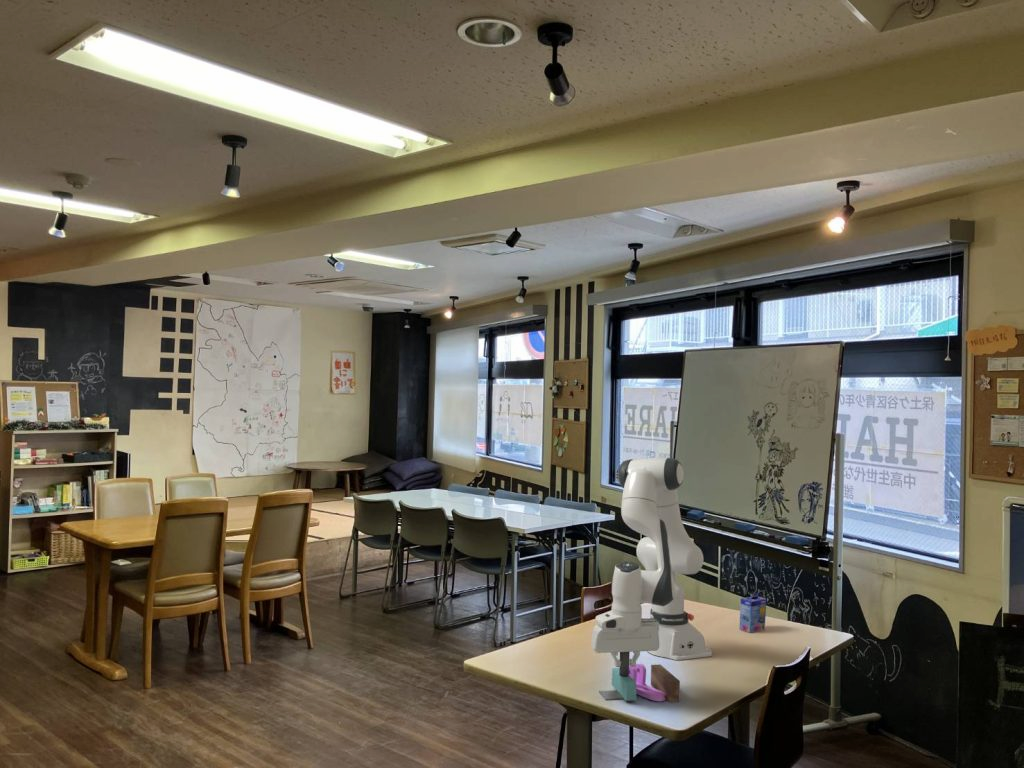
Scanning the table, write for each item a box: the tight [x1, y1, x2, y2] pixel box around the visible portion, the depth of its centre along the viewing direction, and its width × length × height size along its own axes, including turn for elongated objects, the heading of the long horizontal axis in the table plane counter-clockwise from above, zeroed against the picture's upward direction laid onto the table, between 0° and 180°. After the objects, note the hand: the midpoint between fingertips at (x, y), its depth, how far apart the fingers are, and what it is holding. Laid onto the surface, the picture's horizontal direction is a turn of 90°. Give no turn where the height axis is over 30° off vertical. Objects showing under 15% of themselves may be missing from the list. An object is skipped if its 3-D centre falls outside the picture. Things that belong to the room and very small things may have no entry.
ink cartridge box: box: [739, 592, 767, 634], centre depth 290 cm, size 10×6×14 cm, turn 126°
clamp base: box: [598, 664, 681, 704], centre depth 220 cm, size 21×14×6 cm, turn 102°
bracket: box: [629, 663, 666, 702], centre depth 221 cm, size 13×6×7 cm, turn 38°
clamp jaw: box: [611, 652, 637, 702], centre depth 219 cm, size 3×12×12 cm, turn 12°
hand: (625, 666), depth 219 cm, fingers open, 3 cm apart
